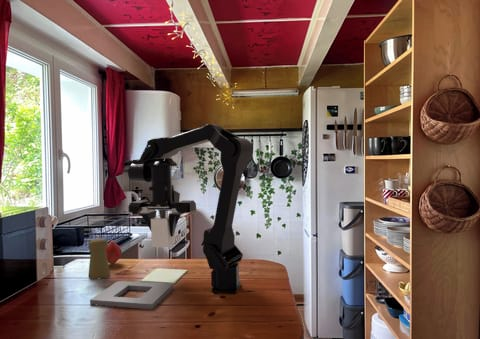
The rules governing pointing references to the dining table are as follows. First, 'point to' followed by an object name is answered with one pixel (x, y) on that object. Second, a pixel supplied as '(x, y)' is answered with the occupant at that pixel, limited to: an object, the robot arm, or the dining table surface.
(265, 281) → the dining table surface
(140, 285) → the gray rectangular frame
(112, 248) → the onion
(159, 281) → the mat
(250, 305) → the dining table surface
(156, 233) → the plug
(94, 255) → the olive green tapered block
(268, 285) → the dining table surface
